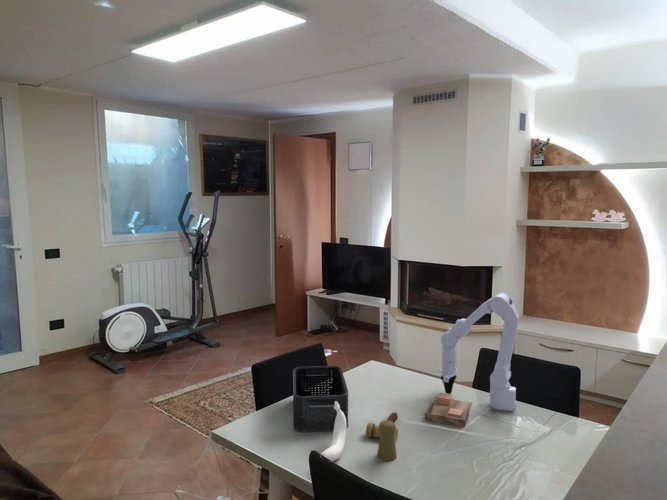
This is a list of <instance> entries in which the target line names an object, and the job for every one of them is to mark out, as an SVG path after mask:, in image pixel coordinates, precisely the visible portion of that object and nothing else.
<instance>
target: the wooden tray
mask: <svg viewBox="0 0 667 500" xmlns="http://www.w3.org/2000/svg"><path fill="white" fill-rule="evenodd" d="M438 397H439V396H436V397H435V399H434V400H433V401H430V403H429V405H428V407H427V408H426V410H425V413H424V420H425V421H429V422H434V423H441V424H446V425H452V426H455V427H456V426H457V427H462V428H465V427H466V425H467V421H468V418H469V415H470V412H471V409H472V404H473V402H472V401H468V400H467V401H465V400H459V399H453V398H452V402H451V405H444V404H438ZM450 408H453V409H459V410H463V417H462V418H456V417H450V416H448V412H449V410H450Z"/></svg>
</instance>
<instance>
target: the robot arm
mask: <svg viewBox="0 0 667 500" xmlns="http://www.w3.org/2000/svg"><path fill="white" fill-rule="evenodd" d="M492 313H495V314H496V315H498V316H499V317H500V318H501V319H502V321H503V322H504V323H503V329H502V333H501V338H500V344H499V348H498V353H497V359H496V362H495V365H494V369H493V372H492V373H491V374H490V375H489V382H490V386H489V387H490V388H489V407H491V408H492V409H494V410H500V411H510V412H515V411H516V410H515V409H516V408H517V401H516V398H517V397H516V394H517V391H516V390H517V387H515V386H511V383H510V381H509V380H510V379H511V377H512V371H511V360H512V355H513V350H514V346H515V342H516V336H517V331H518V327H519V326H518V325H519V322H520V316H519V314H518V311H517V309H516V306H515V303H514V300H513V298H511V297H510V295H508V293H506V292H498V293H496V294H495V296H492V297H490V298H489V299H488V300H486V301H485V302H483V303H481V304H480V305H479V307H478V308H477V309H475V310H474V311H473V312H472V313H471V314H470V315H469V316H467V318H460V319H459V318H458V319H457V320H456V321H455V324H454V325H452V326H451V327H448V328H447V331H446V332H444V333H443V334H442V335H441V337H440V342H441V347H442V349H441V352H442V353H441V368H440V369H438V373H441V376H440V379H441V382H442V383H443V387H444V392H445V393H444V394H450V395H452V392H453V388H454V383H455V381H456V380H457V374H458V371H457V359H458V353H457V352H458V348H457V346H458V344H457V343H458V342H459V341H460V340H461V339H463V338H464V337H465V336H466V335H467V334H469V332H471V331H472V330H473V329H472V328H473V325H474V324H475V323H476V322H477V321H479V320H480V319H481V318H482V317H483V316H484V315H486V314H492Z"/></svg>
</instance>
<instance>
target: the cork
mask: <svg viewBox="0 0 667 500" xmlns="http://www.w3.org/2000/svg"><path fill="white" fill-rule="evenodd" d="M378 425H379V430H380V432H381V433H380V438H379V440H378V441H379V442H378V448H377V455H376V457H377V458H378V459H379V460H381V461H384V462H392V461H395V460H397V457H398V455H397V448H396V447H397V446H396V442H395V438H394V433H395V430H396V428H397V427H396V426H397V425H396V424H395V422H392V421H390V420H387V419H384V420H382V421H381V422H380V423H379V424H378Z"/></svg>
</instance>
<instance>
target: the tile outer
mask: <svg viewBox="0 0 667 500" xmlns="http://www.w3.org/2000/svg"><path fill="white" fill-rule="evenodd" d="M437 397H438V404H444V405H451V402H452V399H453V394H447V393H442V392H441V393H440V394H439V395H438V396H437Z"/></svg>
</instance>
